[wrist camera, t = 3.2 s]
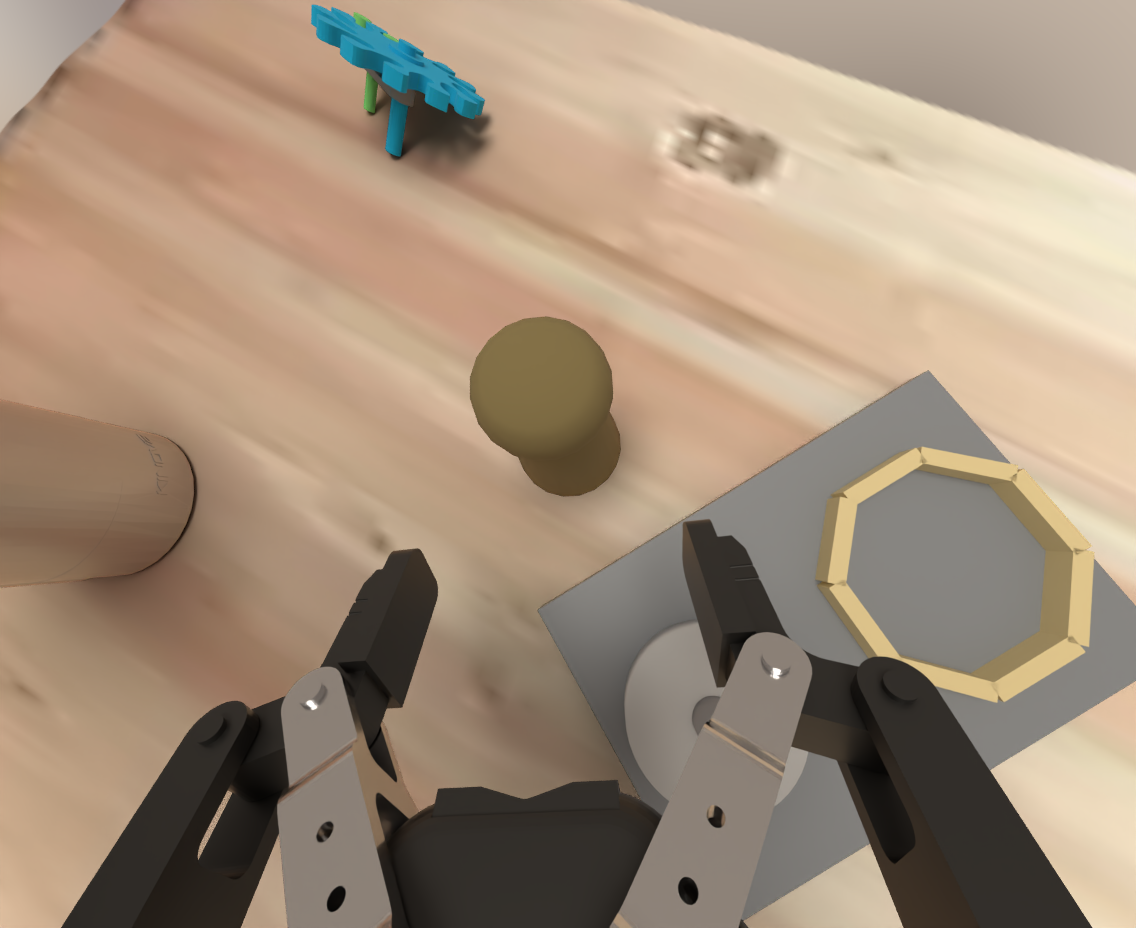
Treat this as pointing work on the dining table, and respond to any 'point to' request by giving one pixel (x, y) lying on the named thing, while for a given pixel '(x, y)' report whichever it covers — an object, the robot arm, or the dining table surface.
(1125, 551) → the dining table surface
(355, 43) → the blue irregular piece
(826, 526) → the board
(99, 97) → the dining table surface
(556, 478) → the cork
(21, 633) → the dining table surface
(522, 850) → the robot arm
